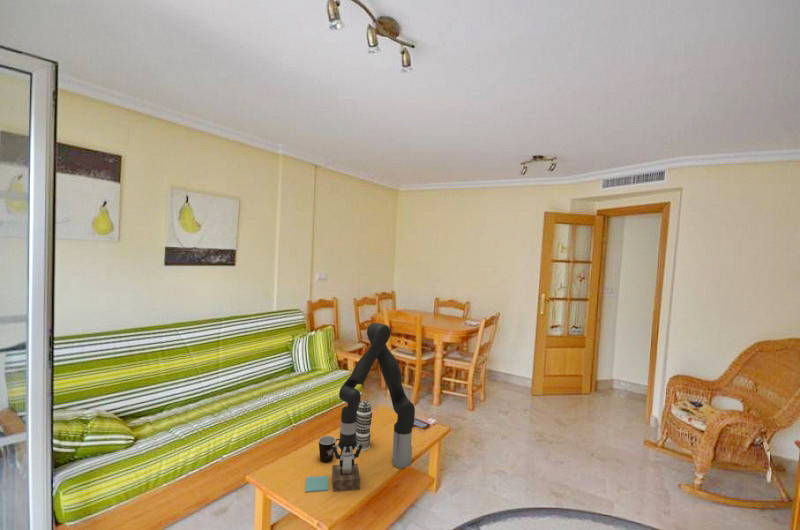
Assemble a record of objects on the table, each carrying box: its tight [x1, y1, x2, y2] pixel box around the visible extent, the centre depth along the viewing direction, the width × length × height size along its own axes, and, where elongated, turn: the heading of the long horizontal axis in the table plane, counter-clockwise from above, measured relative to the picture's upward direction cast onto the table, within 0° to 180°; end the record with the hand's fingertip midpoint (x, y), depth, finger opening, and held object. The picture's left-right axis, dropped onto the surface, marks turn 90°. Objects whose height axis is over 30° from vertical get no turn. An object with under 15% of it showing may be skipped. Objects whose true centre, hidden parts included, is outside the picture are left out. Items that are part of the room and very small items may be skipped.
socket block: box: [331, 463, 361, 493], centre depth 171 cm, size 12×12×5 cm
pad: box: [304, 475, 329, 493], centre depth 168 cm, size 10×10×1 cm
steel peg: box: [342, 452, 352, 475], centre depth 170 cm, size 4×4×12 cm
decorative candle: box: [354, 399, 373, 452], centre depth 202 cm, size 9×9×25 cm
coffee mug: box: [318, 435, 340, 464], centre depth 189 cm, size 12×9×10 cm
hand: (346, 466), depth 170 cm, fingers closed on steel peg, 4 cm apart
